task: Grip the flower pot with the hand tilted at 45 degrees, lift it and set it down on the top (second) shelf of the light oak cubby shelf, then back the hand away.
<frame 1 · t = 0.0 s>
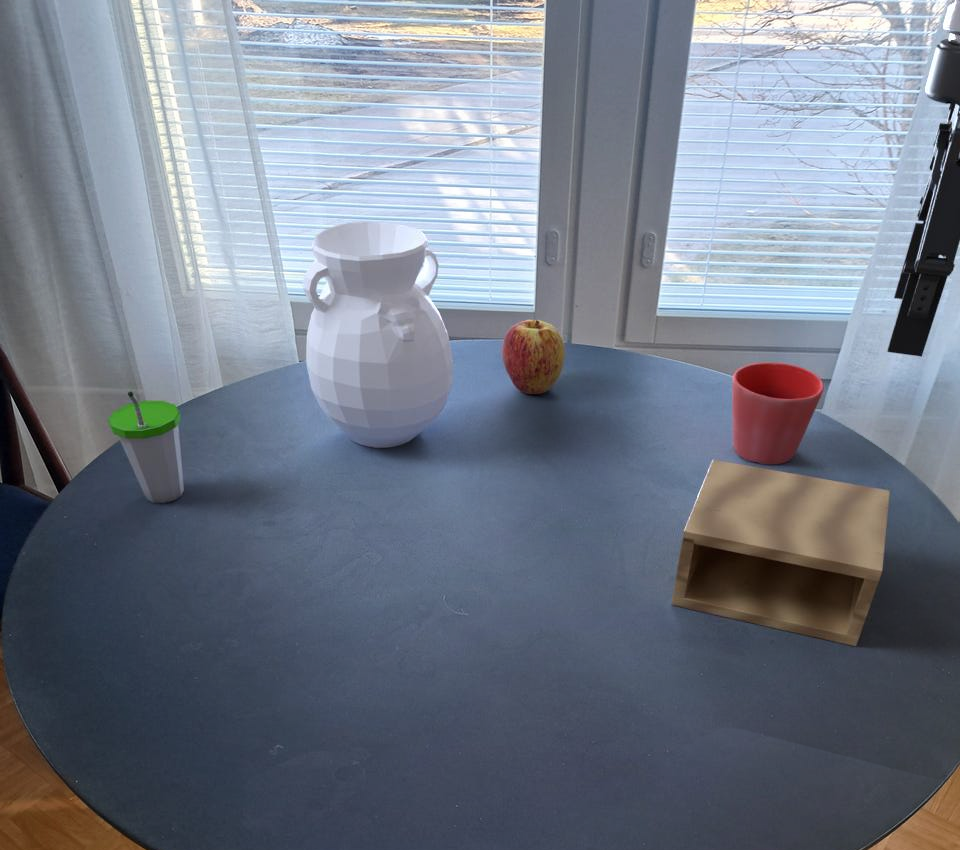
hand: (907, 324, 80), 26 cm above the table, tool pointing down, fingers open, 13 cm apart
apple: (532, 390, 131), on the table
flower pot: (762, 452, 117), on the table
cubby shelf: (771, 583, 95), on the table
cup: (165, 495, 109), on the table
white handled vase: (385, 433, 121), on the table
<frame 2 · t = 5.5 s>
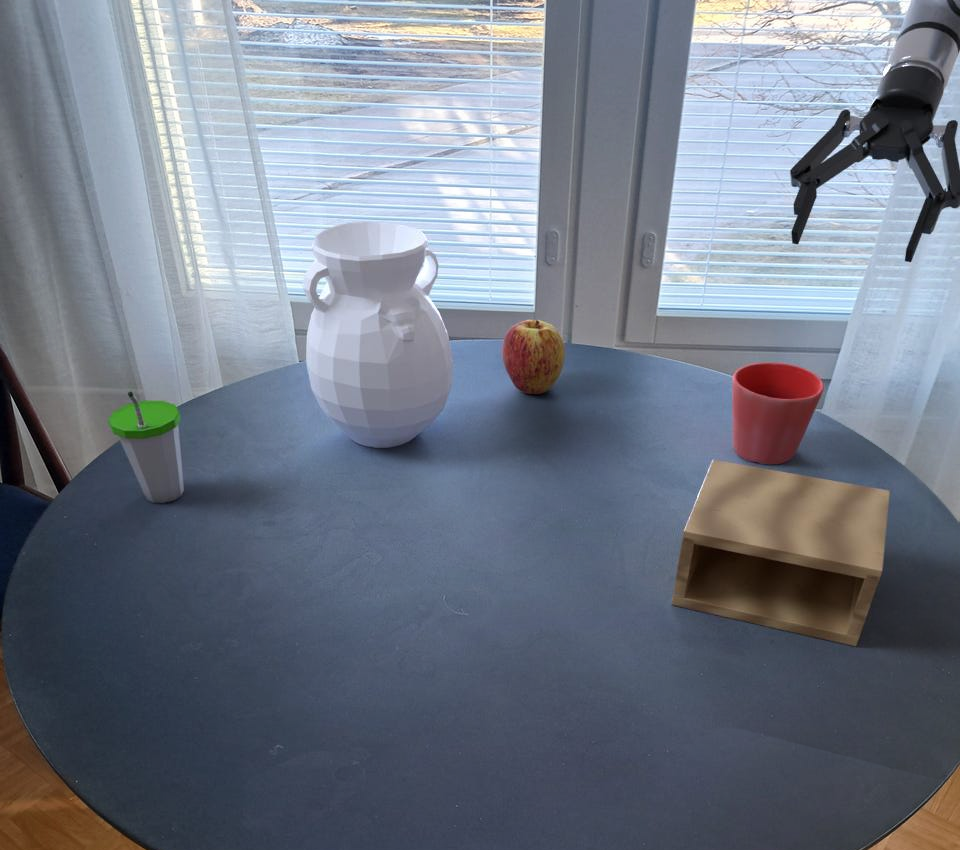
hand: (850, 247, 110), 22 cm above the table, tool tilted 45°, fingers open, 13 cm apart
nothing on the table moved.
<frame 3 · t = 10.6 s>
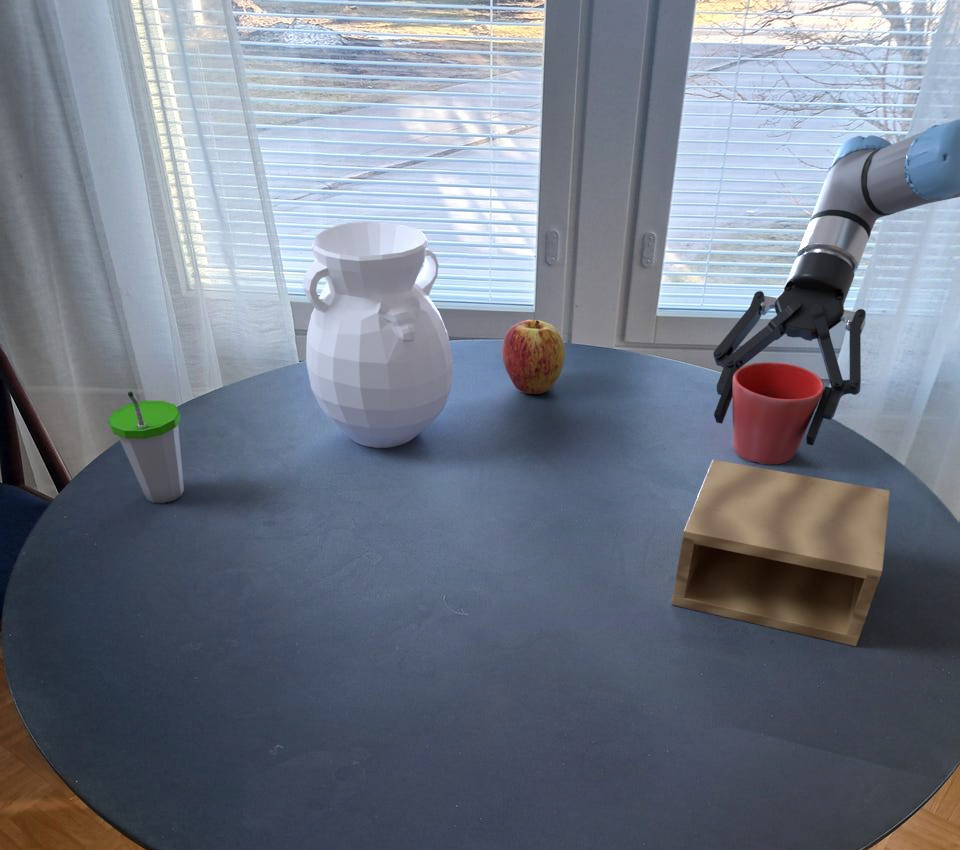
hand: (762, 430, 112), 4 cm above the table, tool tilted 45°, fingers closed on flower pot, 11 cm apart
flower pot: (762, 452, 117), on the table, touching gripper
everything else where it was.
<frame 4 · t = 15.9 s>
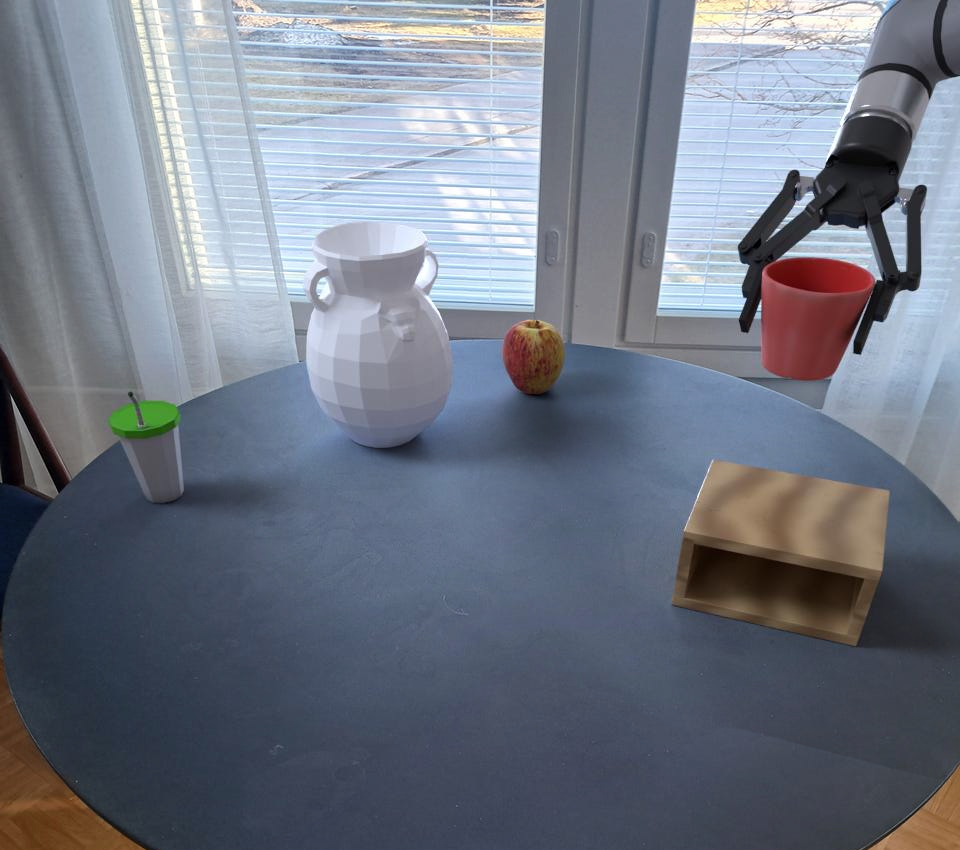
hand: (798, 337, 92), 21 cm above the table, tool tilted 45°, fingers closed on flower pot, 11 cm apart
flower pot: (797, 368, 96), point 17 cm above the table, touching gripper
everything else where it was.
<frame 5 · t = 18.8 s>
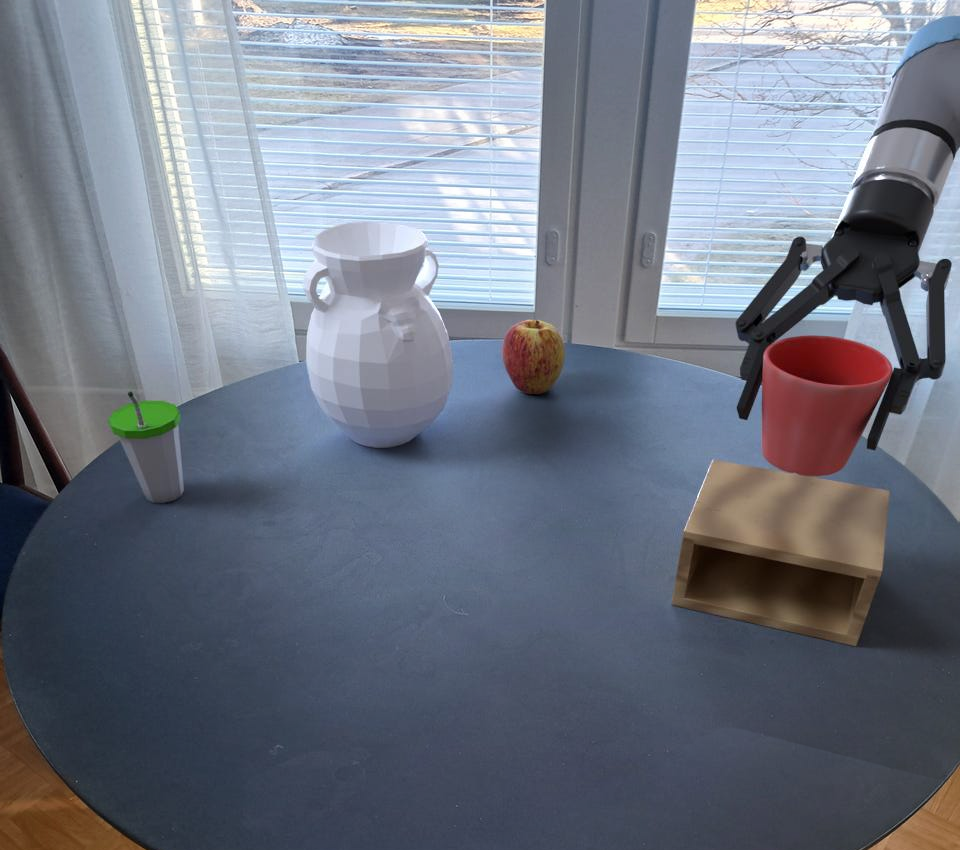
hand: (804, 428, 81), 19 cm above the table, tool tilted 45°, fingers closed on flower pot, 11 cm apart
flower pot: (802, 459, 85), point 15 cm above the table, touching gripper
everything else where it was.
when the fingers open (13 cm above the table, at t = 21.0 s): flower pot stays where it is, resting on cubby shelf.
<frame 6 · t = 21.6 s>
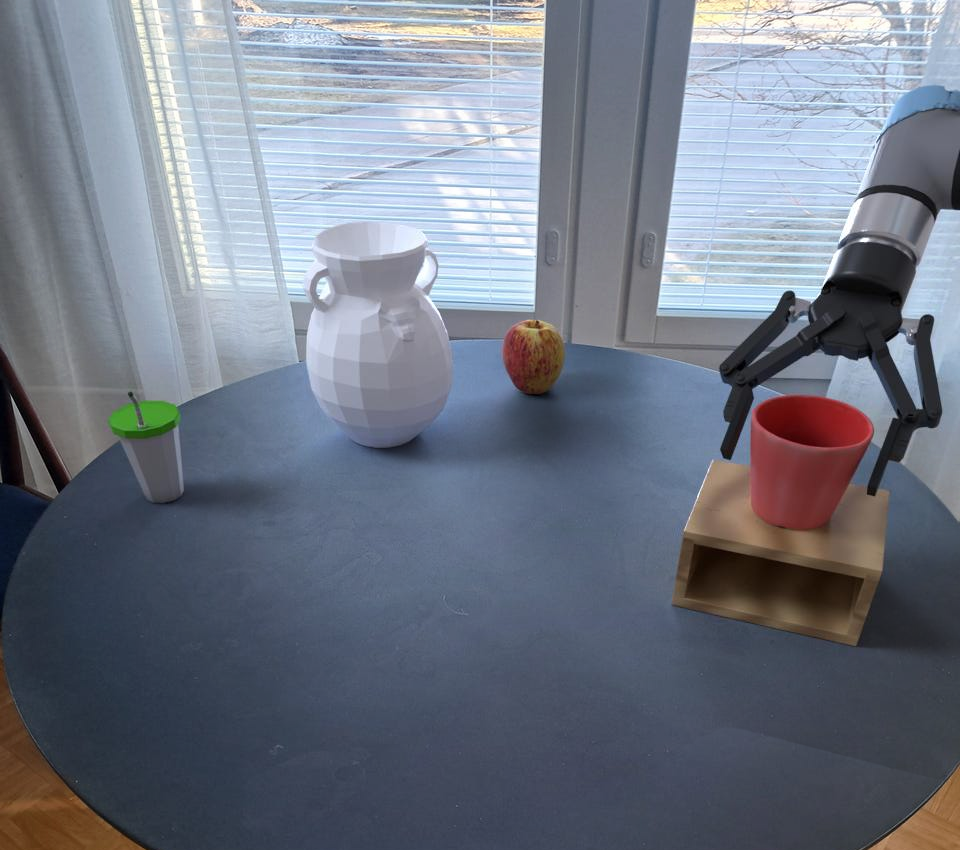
hand: (795, 472, 84), 14 cm above the table, tool tilted 45°, fingers open, 13 cm apart
flower pot: (789, 511, 89), point 9 cm above the table, touching cubby shelf
everything else where it was.
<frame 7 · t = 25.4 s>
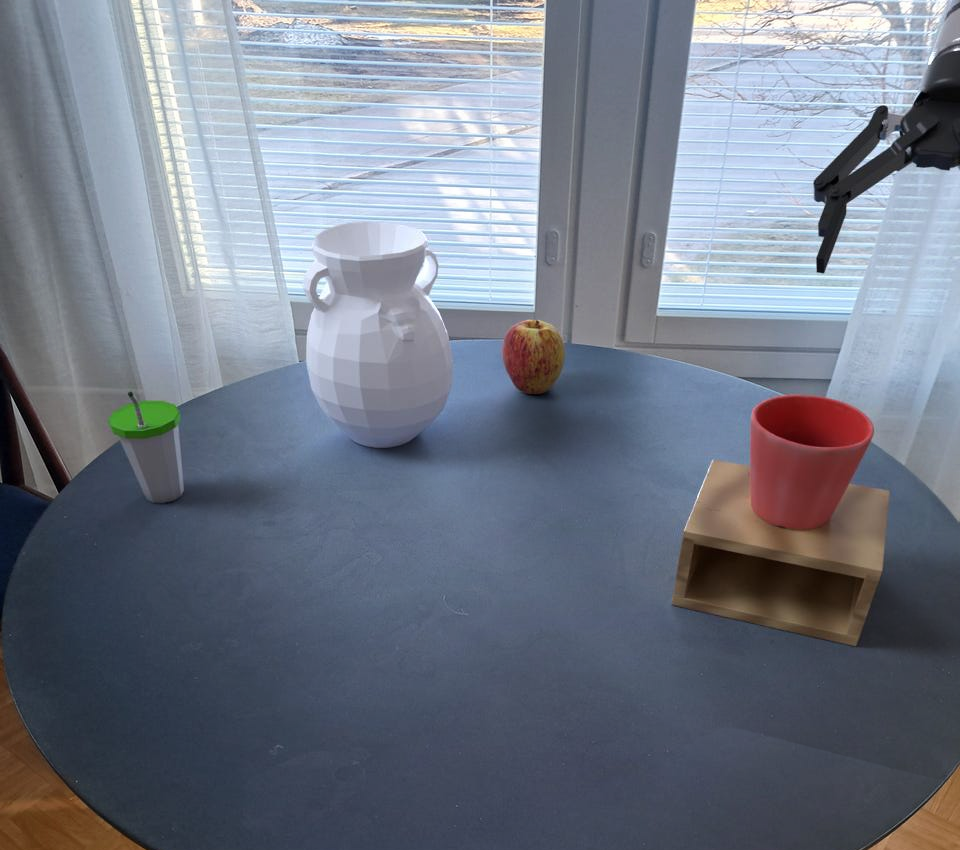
hand: (890, 277, 87), 27 cm above the table, tool tilted 45°, fingers open, 13 cm apart
nothing on the table moved.
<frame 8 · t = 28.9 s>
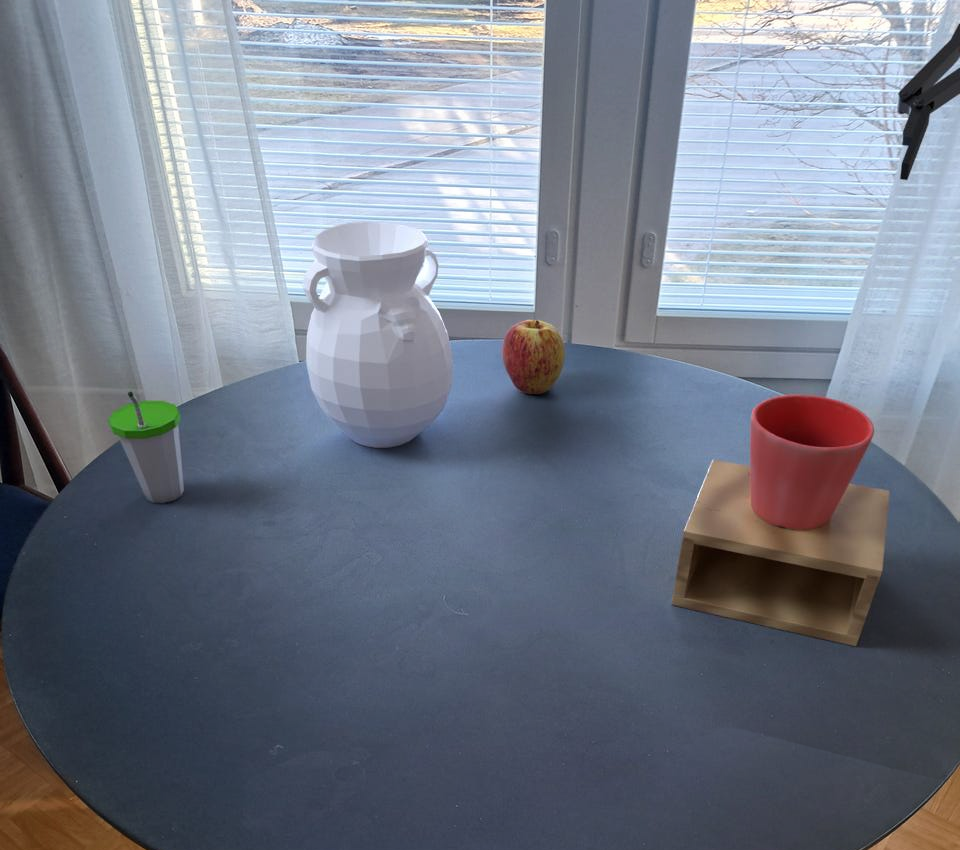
nothing on the table moved.
at the end: flower pot inside the target area on the cubby shelf (0.2 cm from its centre), point 8.8 cm above the cubby shelf's base; flower pot tilted 0°; the gripper is holding nothing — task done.
